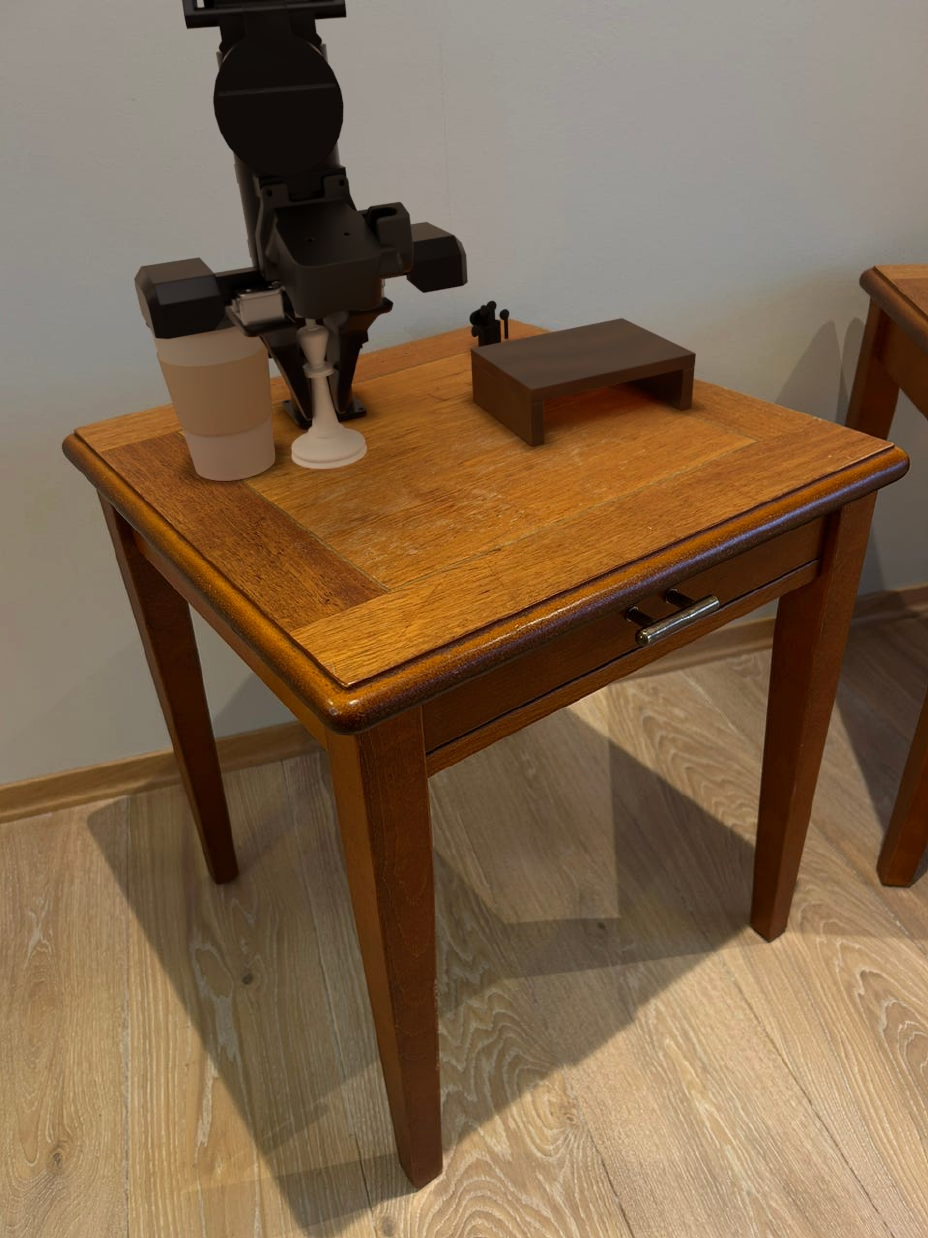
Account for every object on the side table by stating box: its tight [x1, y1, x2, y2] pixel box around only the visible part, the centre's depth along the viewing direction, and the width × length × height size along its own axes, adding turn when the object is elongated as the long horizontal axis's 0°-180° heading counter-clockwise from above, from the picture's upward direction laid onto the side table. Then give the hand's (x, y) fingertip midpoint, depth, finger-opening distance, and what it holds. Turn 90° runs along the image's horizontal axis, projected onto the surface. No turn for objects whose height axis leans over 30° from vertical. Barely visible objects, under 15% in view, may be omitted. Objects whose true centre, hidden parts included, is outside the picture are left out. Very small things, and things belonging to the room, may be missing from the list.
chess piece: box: [290, 310, 368, 470], centre depth 60 cm, size 5×5×10 cm
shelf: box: [470, 317, 697, 447], centre depth 87 cm, size 12×16×5 cm
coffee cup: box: [145, 307, 276, 482], centre depth 78 cm, size 9×9×15 cm
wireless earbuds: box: [468, 300, 510, 347], centre depth 100 cm, size 7×2×5 cm, turn 147°
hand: (324, 414), depth 62 cm, fingers closed on chess piece
